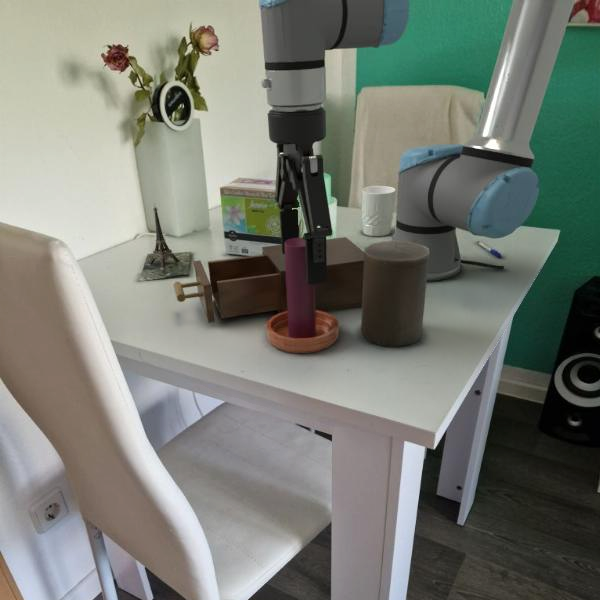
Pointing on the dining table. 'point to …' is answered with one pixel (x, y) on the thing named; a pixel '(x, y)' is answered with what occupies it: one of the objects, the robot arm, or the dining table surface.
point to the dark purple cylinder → (299, 291)
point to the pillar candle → (394, 292)
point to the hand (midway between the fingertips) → (303, 266)
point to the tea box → (250, 216)
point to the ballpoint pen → (490, 250)
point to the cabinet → (329, 275)
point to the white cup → (377, 210)
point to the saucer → (324, 338)
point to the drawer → (235, 286)
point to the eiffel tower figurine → (164, 259)
